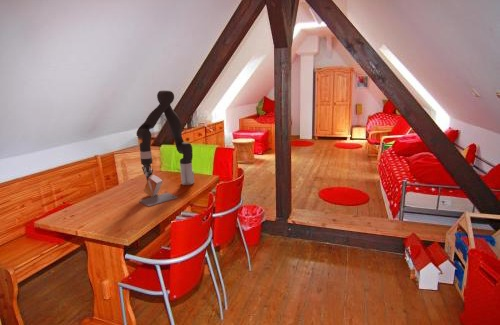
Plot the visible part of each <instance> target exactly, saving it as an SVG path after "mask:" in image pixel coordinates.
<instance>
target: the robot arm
mask: <svg viewBox="0 0 500 325" xmlns="http://www.w3.org/2000/svg"><path fill="white" fill-rule="evenodd" d="M174 94H175V93H174V92H173V91H171V90H159V91H158V92H157V94H156V99H157V102H158V103H159V104H158V105H157V106H156V107H155V108H154V109H153V110H152V111H151V112H150V113H149V114H148V116H147V117H146V119H145V121H144V122H143V123H142V124H141V125H140V126H139V127H138V129H137V131H136V137H137V138H139V139H141V142H140V144H139V151H140V152H139V156H140V164H141V165H142V166H141V169H142V171H143V174H144V175H145V177H146V179H145V180H146V181H147V180H148V177H150V176H152V175H153V173H154V169H152V166H151V164H153V156H152V154H153V153H152V150H151V142H152V132H151V130H152V129H154V127H155V126H156V125H157V123H158V121H159V120H160V118H161V117H162V115H163V114H164V116H165V119H166V121H167V125H168V127H169V130H170V132H171V135H172V137H173V141H174V145H175V148H176V151H177V152H178V153H179V154H182V158H180V159H179V166H180V167H179V168H180V179H181V185H182V186H190V185H193V184H194V183H195V175H194V174H195V172H194V170H193V158H194V157H193V145H192V144H191V143H189V142H185V141H184V138H183V136H182V135H183V134H182V133H183V132H182V131H183V125H182V124H183V123H182V121H181V119H180V117H179V115H178V114H177V113H176V112H175V110H174V109H173V108H172V105H171V104H172V103H173V102H174V100H175V95H174Z"/></svg>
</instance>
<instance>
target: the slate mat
mask: <svg viewBox="0 0 500 325" xmlns="http://www.w3.org/2000/svg"><path fill="white" fill-rule="evenodd" d="M175 199H176V200H177V199H179V197H178V196H177V195H174V194H172V193H170V192H164V193H161V194H158V195H156V196H154V197H151V196H149V197H148V198H144V199H141V200H139V201H138V202H139V203H141V204H142V205H145V206H146V207H148V208H149V207H150V208H151V207H152V206H156V205H160V204H163V203H166V202H169V201H172V200H173V201H174V200H175Z"/></svg>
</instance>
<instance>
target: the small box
mask: <svg viewBox="0 0 500 325" xmlns="http://www.w3.org/2000/svg"><path fill="white" fill-rule="evenodd" d="M162 184H163V179H161V178H160V177H159V176H157V175H155V174H152V175H151V176H150V177H148V180H147V179H146V183H145V186H144V188H143V192H144V193H145V194H147V195H148V196H149V197H154V196H158V195H159V191H160V189H161V186H162Z"/></svg>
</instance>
